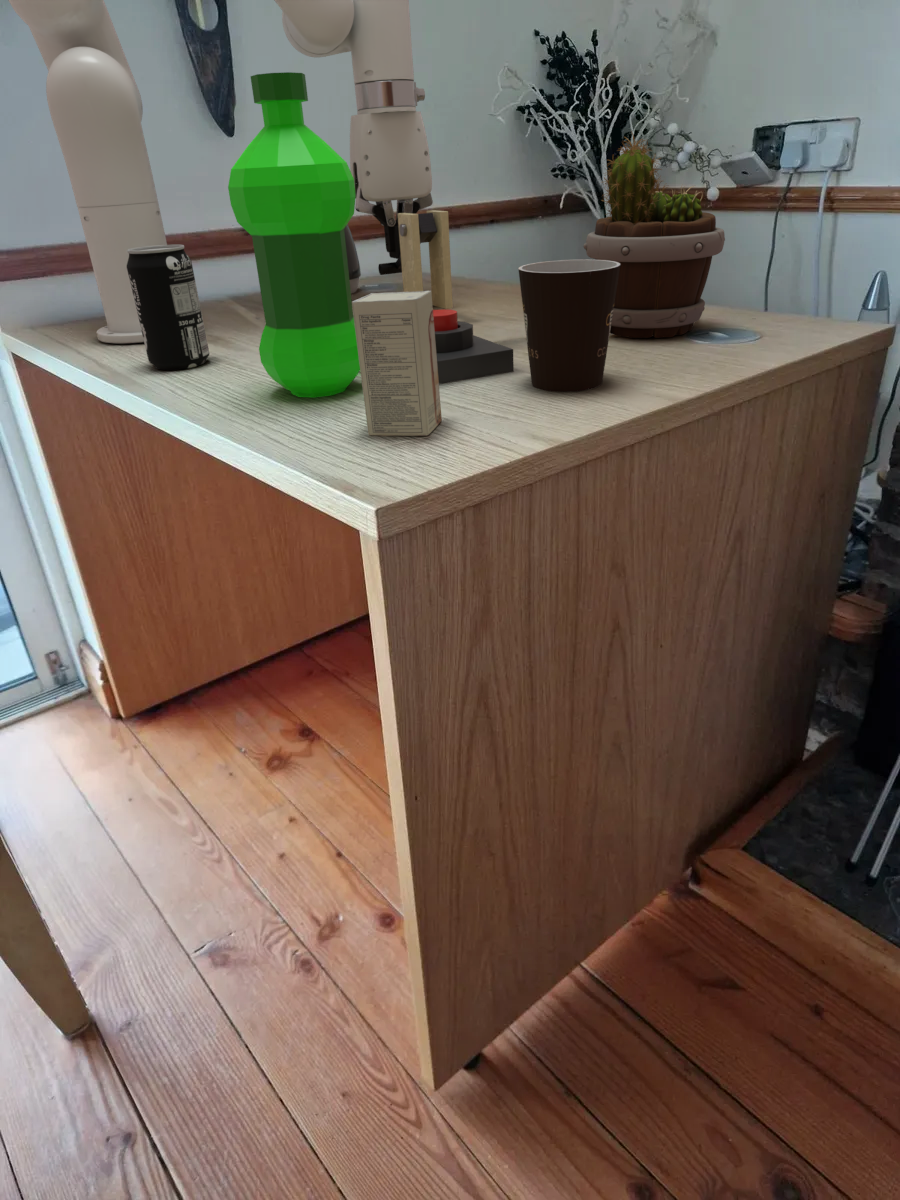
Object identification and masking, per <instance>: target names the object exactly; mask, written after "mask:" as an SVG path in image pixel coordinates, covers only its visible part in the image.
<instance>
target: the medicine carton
mask: <svg viewBox="0 0 900 1200" xmlns="http://www.w3.org/2000/svg"><path fill="white" fill-rule="evenodd" d="M433 306H434V305H432V290H423V291H416V292H404V291H391V292H377V293H376V292H371V293H369V294H367V295H365V296H362V297H359V298H358V299H355V300H352V309H353V316H354V325H355V332H356V340H357V348H358V356H359V365H360V371H359V372H360V378H361V386H362V387H361V388H362V394H363V395H362V396H363V402H364V403H363V404H364V410H365V411H364V412H365V419H366V426H367V434H368V435H367V436H384V437H385V436H386V437H391V436H393V437H394V436H395V437H397V436H400V437H401V436H403V437H417V436H422V437H423V436H424V437H425V436H426V437H428V436H429V435H430V434H431V433H432V432H434V430H435V429H436V428H437V427H438V425H439V424H441V422H442V420H443V419H442V417H443V416H442V406H441V392H440V384H439V380H438V367H437V355H436V343H435V330H434V318H433V310H434V309H433Z"/></svg>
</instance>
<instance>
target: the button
mask: <svg viewBox="0 0 900 1200" xmlns="http://www.w3.org/2000/svg"><path fill="white" fill-rule="evenodd" d="M433 318H434V330H435V331H448V330H454V329H457V328H458V321H459V320H458V311H457V310H455V309H444V308H441V309H433Z"/></svg>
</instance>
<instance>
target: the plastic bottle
mask: <svg viewBox="0 0 900 1200" xmlns="http://www.w3.org/2000/svg"><path fill="white" fill-rule="evenodd" d="M249 78H250V83H251V91H252V97H253V103H254V104H257V105H260V106H261V112H262V118H263V125H264V126H263V127H262V129H260V131H259V132H258V133H257V134H256V135H255V137H254V138H253V139H252V140H251V141H250V143H249V144H248V145H247V146H246V148H245V149H244V151H243V152H242V153H241V154H240V156H239V157H238V159H237V160H236V161H235V163H234V164H233V166H232V167H231V168H230V172H229V173H230V174H229V179H228V186H227V189H228V193H229V194H228V195H229V200H230V201H229V202H230V206H231V209H232V212H233V214H234V218H235V220H236V222H237V223H238V225H239V226H241V228H242V229H244V230H245V231H246V232H247V233H248V234H249V235H250V237H251V238H252V246H253V252H254V258H255V264H256V271H257V276H258V283H259V291H260V296H261V302H262V309H263V315H264V322H265V325H264V328H263V331H262V332H261V337H260V342H259V345H258V352H259V358H260V363H261V365H262V367H263V368H264V370H265V372H266V373H267V375H268V376H269V377H270V379H272V380H273V381H274V382H275V383H276V384H279V386H281V387H283V388H284V389H285V390H287V391H290V394H291V395H293V396H296V397H298V398H311V399H312V398H313V399H315V398H323V397H331V396H335V395H337V394H340V393H344V392H345V391H346V389H347V387H349V385H350V384H351V383H352V382H353V381H354V380H355V379H356V377H357V376H358V374H359V372H360V365H359V356H358V348H357V340H356V332H355V325H354V316H353V308H352V301H353V300H352V294H351V290H350V281H349V271H348V262H347V252H346V243H345V233H344V228H345V227H346V225H347V224H348V223H350V221H351V219H352V218H353V216H354V215H355V210H356V209H355V206H356V198H355V197H356V196H355V185H354V178H353V176H352V174H351V171H350V166H349V165H348V162H347V161H346V160H345V159H344V158H343V157H342V156H341V155H340V154H339V153H337V152H336V151H335V150H334V149H333V148H332V147H331V146H330V145H329V144H328V143H327V142H326V141H325V140H323V139H322V137H320V136H319V135H317V134H316V133H315V132H314V131H313V130H311V128H309V127H308V126H307V125H306V124H305V121H304V120H305V119H304V112H303V111H304V110H303V103H304V102H308V101H309V98H308V97H309V96H308V89H307V88H308V87H307V81H306V74H305V73H303V72H293V71H292V72H290V71H289V72H287V71H286V72H268V73H267V72H266V73H257V74H253V75H250V77H249ZM348 225H349V224H348Z"/></svg>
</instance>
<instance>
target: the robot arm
mask: <svg viewBox="0 0 900 1200" xmlns="http://www.w3.org/2000/svg"><path fill="white" fill-rule="evenodd" d="M273 1H274V2H275V3H276V5H277V6H278V7H279V8H280V9H281V10H282V13H281V22H282V23H281V24H282V27H283V31H284V34H285V37H286V39H287V40H288V42H289V43H290V46H292V47H293V48H294V49H295V50H296V51H297V52H299V53H301V54H302V55H304V56H306V57H309V58H326V57H330V56H335V55H338V54H339V55H340V54H343V53H344V54H345V53H351V63H352V65H351V66H352V74H353V75H352V76H353V85H354V95H355V104H356V114H353V115H351V116H350V125H349V126H350V127H349V169H350V171H351V174H352V176H353V178H354V185H355V196H356V197H355V209H354V210H355V211H356V212H358V213H362V214H368V215H372V216H373V217H374V218H375V219H376V220H377V221H378V222H379V223H380V225H381V226H383V230H384V231H383V233H384V242H385V251H386V252H387V253H388V255H389V257H390V258H391V259H396V260H397V259H398V258H399V256H400V254H401V251H400V238H399V225H398V213H413V214H418V212H419V211H421V210H423V209H426V208H428V207H432V205H433V204H434V201H433V197H432V189H433V173H432V166H431V165H432V164H431V156H430V149H429V143H428V137H427V132H426V128H425V123H424V119H423V115H422V112H421V110H417V107H418V103H419V102H422V101H425V99H426V92H425V89H424V88H419V87H417V82H416V81H415V74H414V59H413V45H412V44H413V43H412V28H411V19H410V18H411V16H410V15H411V14H410V0H273ZM8 2H9V4H10V6H11V7H12V9H13V11H14V12H15V13H16V15H17V16H18V17H19V18H20V19H21V21H23V22H24V23H25V24H26V25H27V26H28V28H29V30H30V32H31V34H32V37H33V39H34V41H35V44H36V46H37V48H38V51H39V52H40V55H41V57H42V60H43V62H44V65H45V66H46V69H47V71H48V72H47V76H46V82H45V88H46V89H45V91H46V93H45V94H46V101H47V105H48V110H49V114H50V117H51V122H52V124H53V127H54V131H55V134H56V137H57V140H58V143H59V146H60V149H61V152H62V155H63V156H62V157H63V160H64V163H65V166H66V169H67V173H68V177H69V180H70V185H71V189H72V191H73V196H74V200H75V204H76V207H77V210H78V214H79V219H80V222H81V226H82V231H83V234H84V238H85V242H86V246H87V250H88V254H89V258H90V262H91V265H92V270H93V273H94V278H95V281H96V286H97V289H98V293H99V297H100V301H101V305H102V309H103V313H104V317H105V320H106V325H105V326H102V327H100V328H98V329H97V330H96V336H97V339H98V341H100V342H102V343H105V344H106V343H107V344H138V343H139V344H141V343H144V339H143V335H142V331H141V326H140V322H139V318H138V314H137V309H136V305H135V301H134V297H133V292H132V288H131V284H130V280H129V275H128V271H127V262H128V259H129V253H128V252H127V250H128V249H132V248H138V247H146V246H157V245H168V243H167V238H166V233H165V227H164V223H163V218H162V213H161V207H160V203H159V199H158V195H157V190H156V185H155V180H154V176H153V172H152V166H151V162H150V157H149V153H148V149H147V144H146V141H145V135H144V131H143V126H142V120H143V113H144V111H143V110H144V108H143V107H144V106H143V100H142V96H141V92H140V90H139V87H138V85H137V82H136V79H135V77H134V75H133V72H132V69H131V67H130V65H129V64H130V63H129V62H128V59H127V57H126V54H125V52H124V49H123V46H122V44H121V40H120V38H119V36H118V34H117V31H116V28H115V26H114V22H113V21H112V18H111V15H110V12H109V10H108V8H107V5H106V2H105V0H8ZM392 201H396V211H395V212H396V215H395V212H394V207H393V203H392ZM370 202H373V203H370ZM374 203H375V204H374Z"/></svg>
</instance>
